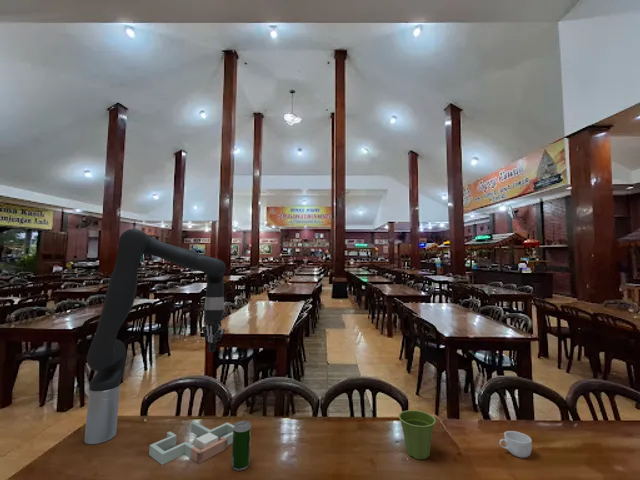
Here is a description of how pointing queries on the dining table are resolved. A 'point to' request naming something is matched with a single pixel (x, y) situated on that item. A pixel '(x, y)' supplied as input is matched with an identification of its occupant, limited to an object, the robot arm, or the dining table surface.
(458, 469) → the dining table surface
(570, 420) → the dining table surface
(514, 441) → the teacup
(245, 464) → the beer can
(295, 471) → the dining table surface
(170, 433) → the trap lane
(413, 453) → the plant pot
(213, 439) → the cream block
